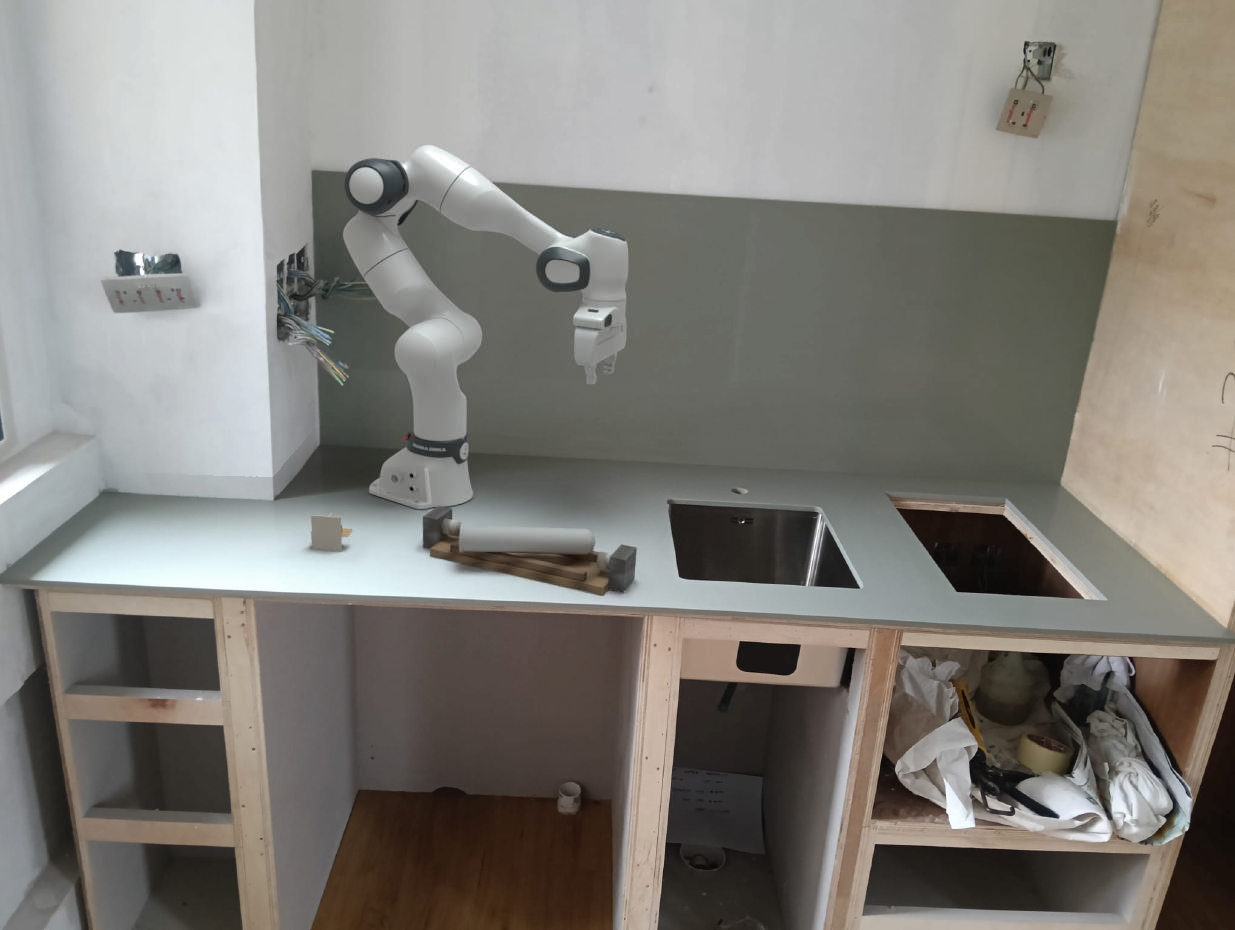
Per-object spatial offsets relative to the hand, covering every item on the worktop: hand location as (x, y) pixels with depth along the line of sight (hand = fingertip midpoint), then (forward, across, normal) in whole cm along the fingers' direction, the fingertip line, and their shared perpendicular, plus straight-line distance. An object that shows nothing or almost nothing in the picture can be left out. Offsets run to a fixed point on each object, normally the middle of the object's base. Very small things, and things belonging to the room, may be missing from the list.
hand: (600, 378), depth 204 cm
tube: (+26, +32, 0) cm, 42 cm away
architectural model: (+30, +43, -37) cm, 64 cm away
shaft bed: (+29, +31, -1) cm, 43 cm away
